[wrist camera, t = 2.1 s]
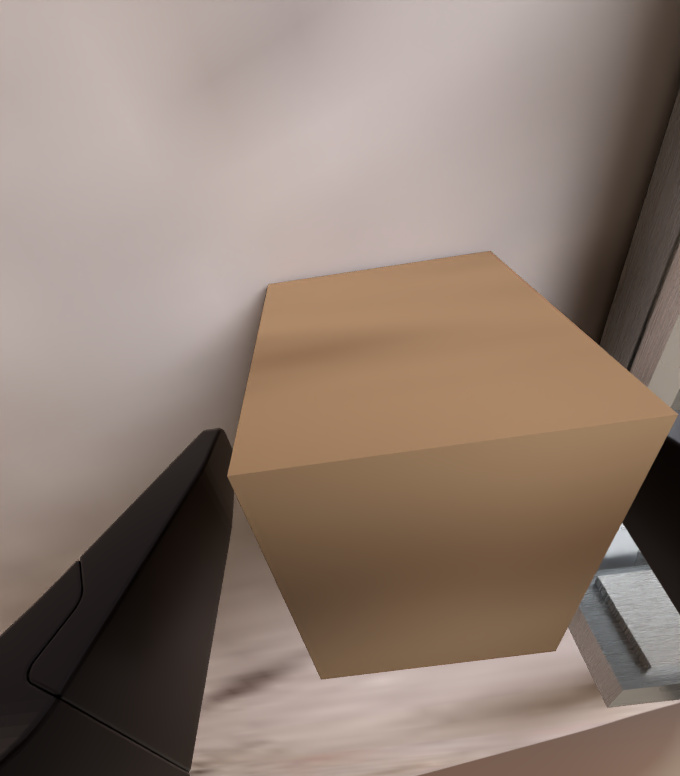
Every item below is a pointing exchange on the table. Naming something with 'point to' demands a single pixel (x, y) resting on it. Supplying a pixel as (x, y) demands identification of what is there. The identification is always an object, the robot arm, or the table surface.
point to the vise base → (676, 388)
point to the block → (434, 462)
